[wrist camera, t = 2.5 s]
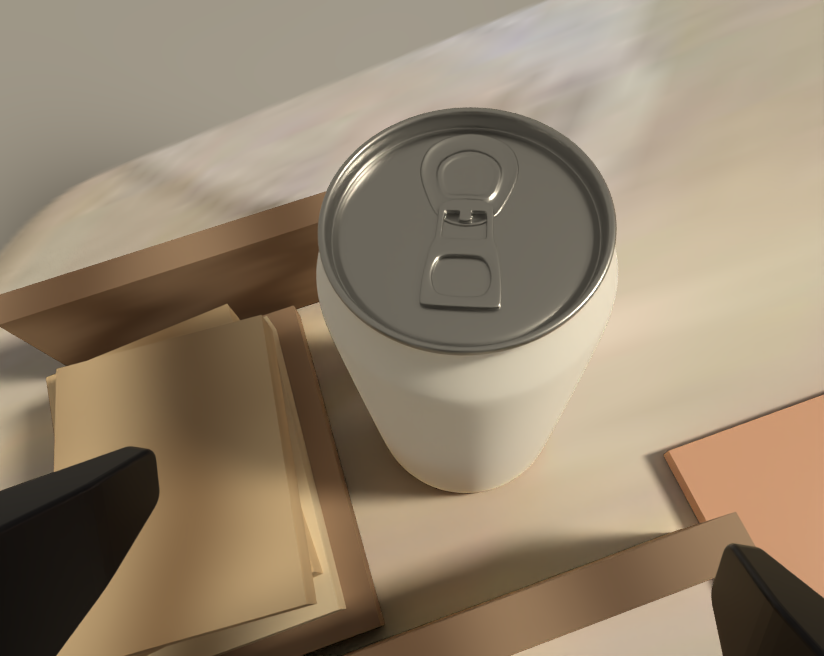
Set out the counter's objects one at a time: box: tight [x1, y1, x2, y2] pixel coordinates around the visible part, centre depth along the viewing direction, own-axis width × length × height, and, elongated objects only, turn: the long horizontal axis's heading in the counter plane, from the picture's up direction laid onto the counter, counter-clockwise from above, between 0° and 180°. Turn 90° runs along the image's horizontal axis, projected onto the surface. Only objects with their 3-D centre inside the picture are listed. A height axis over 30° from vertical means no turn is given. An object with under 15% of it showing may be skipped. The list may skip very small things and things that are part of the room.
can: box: [316, 108, 618, 493], centre depth 16 cm, size 6×6×12 cm
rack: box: [0, 192, 756, 656], centre depth 19 cm, size 19×15×5 cm
